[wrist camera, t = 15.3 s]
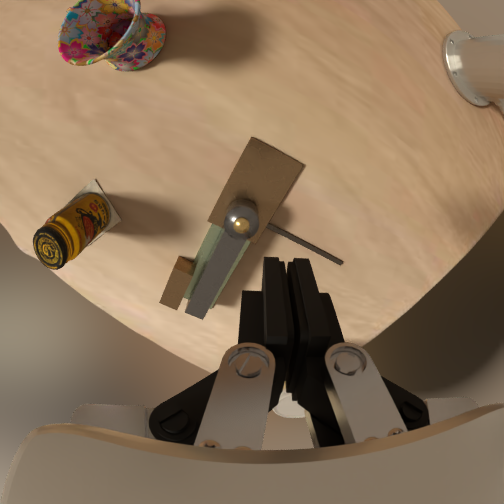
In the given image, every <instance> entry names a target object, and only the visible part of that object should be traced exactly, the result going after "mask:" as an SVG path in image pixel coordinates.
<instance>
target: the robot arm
mask: <svg viewBox="0 0 504 504" xmlns="http://www.w3.org/2000/svg"><path fill="white" fill-rule="evenodd" d="M443 59H444V63H445V67H446V70H447V73H448V75H449V77H450V80H451V82H452V83H453V85H454V87H455V88H456V90H457V91H458V92H459V94H460V95H461V96H462V97H463V98H464V99H465V100H467V101H468V102H469V103H471V104H473V105H478V106H485V105H488V104H489V103H491V102H494V103H495V105H497V106H499V108H500V110H501V112H502V113H503V115H504V34H503V35H492V36H483V37H476V38H475V37H474V36H472V35H471V34H469V33H467V32H465V31H453V32H451V33H449V34H448V35H447V36H446V38H445V39H444V43H443ZM284 383H285V385H286V393H291V394H292V401H297V404H298V405H300V406H301V407H303V408H304V413H305V418H306V421H307V425H308V428H309V432H310V435H311V439H312V442H313V446H314V448H311V449H298V450H261V448H262V443H263V438H264V432H265V426H266V420H267V415H268V412H269V411H271V410H272V409H273V408H274V407H275V406H277V405H278V403H279V399H280V395H281V393H282V391H283V387H284ZM0 504H504V403H495V404H489V405H485V406H482V407H478V404H477V403H476V402H475V401H474V400H473V399H471V398H468V397H457V398H432V399H431V398H427V399H426V400H425V401H423V400H421V399H420V398H418V397H417V396H415V395H413V394H412V393H410V392H408V391H406V390H404V389H403V388H401V387H399V386H398V385H396V384H394V383H392V382H391V381H389V380H387V379H385V378H384V377H382V376H380V374H379V372H378V370H377V368H376V366H375V365H374V363H373V361H372V359H371V357H370V355H369V354H368V353H367V351H366V350H364V349H363V348H362V347H360V346H358V345H356V344H353V343H348V342H347V343H345V341H344V338H343V335H342V332H341V328H340V325H339V322H338V319H337V316H336V312H335V309H334V306H333V303H332V300H331V297H330V295H329V294H328V293H319V291H318V287H317V284H316V280H315V277H314V274H313V271H312V267H311V264H310V261H309V259H304V258H294V259H293V262H288V266H287V274H286V269H285V263H284V261H279V258H278V257H264V262H263V277H262V291H244V290H242V299H241V312H240V324H239V337H238V344H237V345H235V346H233V347H231V348H230V349H228V350H227V351H226V353H225V354H224V356H223V358H222V361H221V364H220V367H219V369H218V370H217V371H215V372H214V373H212V374H210V375H209V376H207V377H206V378H204V379H202V380H201V381H199V382H197V383H196V384H194V385H193V386H191V387H189V388H187V389H186V390H184V391H182V392H181V393H179V394H177V395H175V396H174V397H172V398H170V399H168V400H167V401H165V402H163V403H161V404H160V405H159V406H157V407H156V408H146V407H145V406H144V405H142V406H141V405H140V406H139V405H138V406H137V405H136V406H134V405H103V404H102V405H101V404H83V405H81V406H79V407H78V408H77V409H76V410H75V411H74V412H73V415H72V418H71V423H70V424H68V423H61V424H50V425H44V426H41V427H38V428H36V429H34V430H32V431H31V432H30V433H29V434H28V435H27V436H26V437H25V439H24V440H23V442H22V443H21V445H20V447H19V449H18V451H17V452H16V454H15V457H14V459H13V461H12V464H11V466H10V469H9V472H8V475H7V479H6V482H5V485H4V489H3V493H2V497H1V503H0Z"/></svg>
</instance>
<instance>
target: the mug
mask: <svg viewBox="0 0 504 504" xmlns="http://www.w3.org/2000/svg"><path fill="white" fill-rule="evenodd" d="M140 7H141V6H140V0H79V1H78V2H77V3H76V4H75V5H74V6H73V8H71V7H70V8H68V10H67V11H66V12H67V13H68V14H67V16H66V17H65V19H64V21H63V23H62V25H61V28H60V31H59V36H58V48H59V52H60V54H61V56H62V58H63V59H64V60H65V61H66V62H68V63H70V64H72V65H77V66H84V65H90V64H93V63H96V62H98V61H100V60H102V59H105V60H106V62H107V63H108V64H109V65H110V66H111V67H112V68H113V69H115V70H118V71H132V70H136V69H139V68H141V67H143V66H145V65H146V64H148V63H149V62H150V61H152V60H153V59H154V58H155V57H156V56H157V54H158V53H159V52H160V50H161V48H162V47H163V44H164V42H165V37H166V30H165V26H164V24H163V22H162V20H161V19H160V18H158V17H157V16H155V15H153V14H150V13H141V12H140Z"/></svg>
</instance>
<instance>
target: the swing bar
mask: <svg viewBox="0 0 504 504" xmlns="http://www.w3.org/2000/svg"><path fill="white" fill-rule="evenodd" d="M258 229H259V214H258V209H257V207H256V206H255V204H254V203H252V202H251V201H249V200H245V199H239V200H236V201H234V202H232V203H231V204H230V205H229V207H228V208H227V212H226V216H225V220H224V227H223V229H222V231H221V233H220V235H219V237H218V239H217V241H216V243H215V245H214V247H213V249H212V251H211V253H210V255H209V257H208V259H207V261H206V263H205V266H204V268H203V270H202V272H201V274H200V276H199V278H198V280H197V282H196V284H195V286H194V289H193V291H192V293H191V295H190V297H189V300H188V303H187V306H186V310H185V313H187V314H190V315H192V316H195V317H197V318H200V319H202V320H203V318H204V317H205V315H206V313H207V311H208V309H209V307H210V306H211V304H212V302H213V300H214V298H215V296H216V295H217V293H218V291H219V289H220V287H221V286H222V284H223V282H224V280H225V278H226V276H227V275H228V273H229V271H230V269H231V267H232V266H233V264H234V262H235V260H236V258H237V257H238V255H239V253H240V251H241V249H242V247H243V246H244V244H245V242H246V240H247V239H250V238H251V237H253V236H254V235H255V234H256V233H257V231H258Z"/></svg>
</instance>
